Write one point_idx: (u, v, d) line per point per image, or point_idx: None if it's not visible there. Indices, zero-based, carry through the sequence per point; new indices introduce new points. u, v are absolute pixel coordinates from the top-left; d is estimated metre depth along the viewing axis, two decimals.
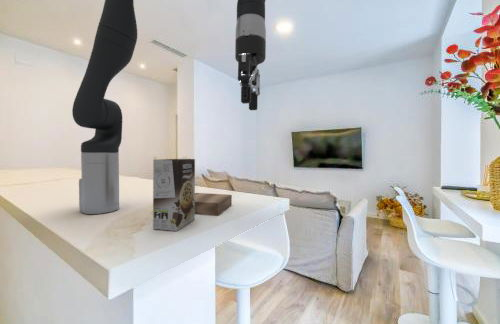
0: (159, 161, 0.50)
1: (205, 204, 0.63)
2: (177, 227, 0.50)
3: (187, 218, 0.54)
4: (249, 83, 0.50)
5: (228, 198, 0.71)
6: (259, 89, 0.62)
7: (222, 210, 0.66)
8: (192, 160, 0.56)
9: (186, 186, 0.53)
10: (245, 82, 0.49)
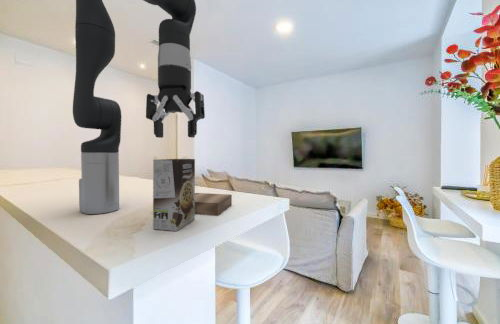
0: (159, 161, 0.50)
1: (205, 204, 0.63)
2: (177, 227, 0.50)
3: (187, 218, 0.54)
4: None
5: (228, 198, 0.71)
6: None
7: (222, 210, 0.66)
8: (192, 160, 0.56)
9: (186, 186, 0.53)
10: (198, 119, 0.52)
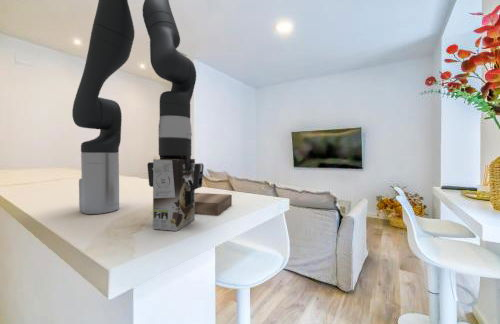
0: (159, 161, 0.50)
1: (205, 204, 0.63)
2: (177, 227, 0.50)
3: (187, 218, 0.54)
4: (194, 188, 0.54)
5: (228, 198, 0.71)
6: None
7: (222, 210, 0.66)
8: (192, 160, 0.56)
9: None
10: None
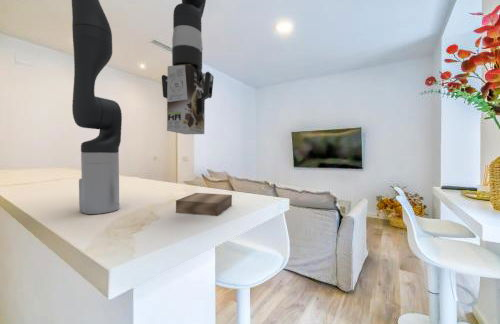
0: (173, 67, 0.54)
1: (205, 204, 0.63)
2: (189, 127, 0.54)
3: (198, 127, 0.58)
4: (204, 99, 0.58)
5: (228, 198, 0.71)
6: None
7: (222, 210, 0.66)
8: None
9: None
10: (206, 98, 0.57)
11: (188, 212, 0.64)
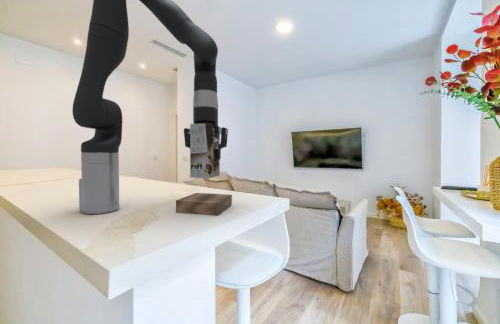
0: (195, 124, 0.64)
1: (204, 204, 0.63)
2: (209, 175, 0.64)
3: (215, 172, 0.69)
4: None
5: (228, 198, 0.71)
6: (188, 142, 0.71)
7: (222, 210, 0.66)
8: None
9: None
10: None
11: (188, 212, 0.64)
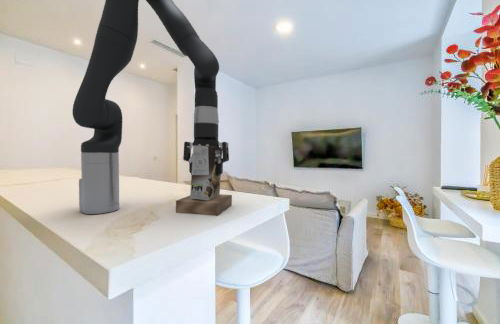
0: (198, 146, 0.65)
1: (204, 205, 0.63)
2: (209, 198, 0.65)
3: (215, 193, 0.69)
4: None
5: (228, 198, 0.71)
6: None
7: (222, 210, 0.66)
8: (220, 148, 0.71)
9: (216, 168, 0.68)
10: None
11: (188, 212, 0.64)
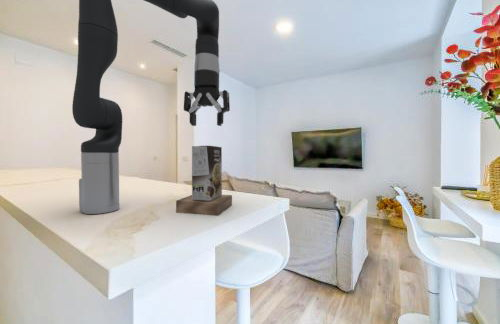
0: (196, 147, 0.65)
1: (205, 205, 0.63)
2: (211, 198, 0.64)
3: (217, 193, 0.69)
4: None
5: (228, 198, 0.71)
6: (187, 106, 0.71)
7: (222, 210, 0.66)
8: (219, 148, 0.71)
9: (216, 167, 0.68)
10: (225, 111, 0.68)
11: (188, 212, 0.64)
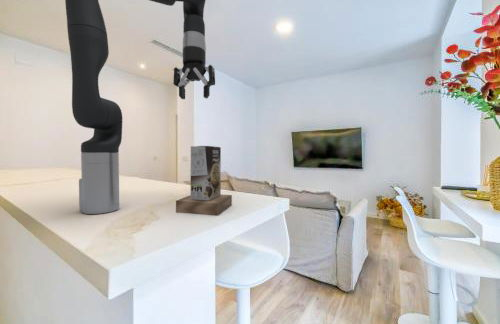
0: (195, 147, 0.65)
1: (204, 204, 0.63)
2: (209, 198, 0.65)
3: (215, 193, 0.69)
4: (209, 86, 0.75)
5: (228, 198, 0.71)
6: (177, 82, 0.78)
7: (222, 210, 0.66)
8: (218, 148, 0.71)
9: (215, 167, 0.68)
10: (210, 85, 0.74)
11: (188, 212, 0.64)
